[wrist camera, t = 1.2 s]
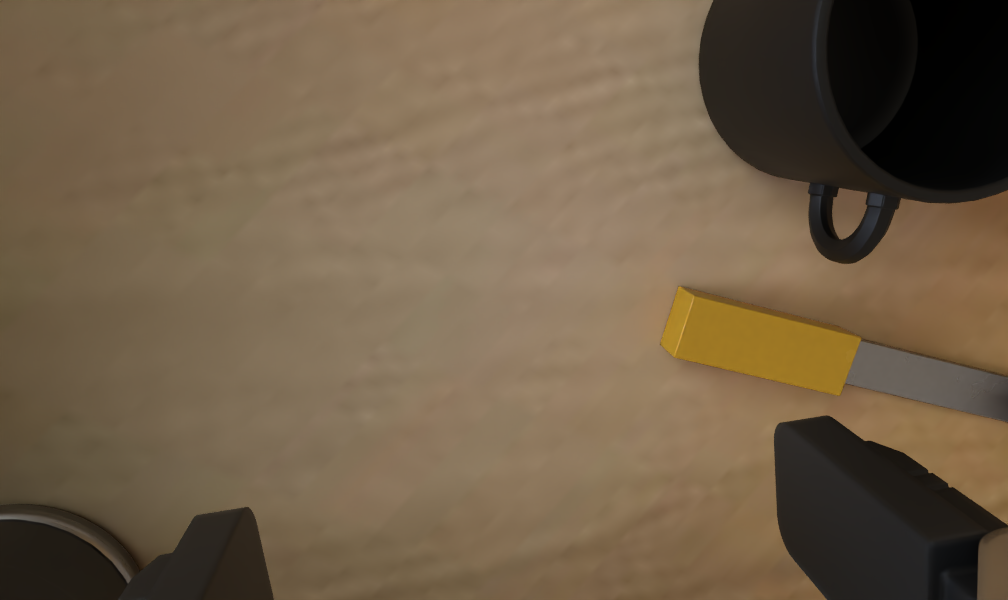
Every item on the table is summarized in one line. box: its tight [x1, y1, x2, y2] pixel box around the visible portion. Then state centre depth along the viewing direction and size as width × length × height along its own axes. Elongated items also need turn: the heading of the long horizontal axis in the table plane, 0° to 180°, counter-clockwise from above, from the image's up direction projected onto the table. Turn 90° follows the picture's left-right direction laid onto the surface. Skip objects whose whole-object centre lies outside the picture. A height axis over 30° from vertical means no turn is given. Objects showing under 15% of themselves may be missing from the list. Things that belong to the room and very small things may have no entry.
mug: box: [699, 0, 1008, 264], centre depth 26 cm, size 9×12×9 cm
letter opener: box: [660, 286, 1008, 422], centre depth 33 cm, size 20×3×2 cm, turn 75°
